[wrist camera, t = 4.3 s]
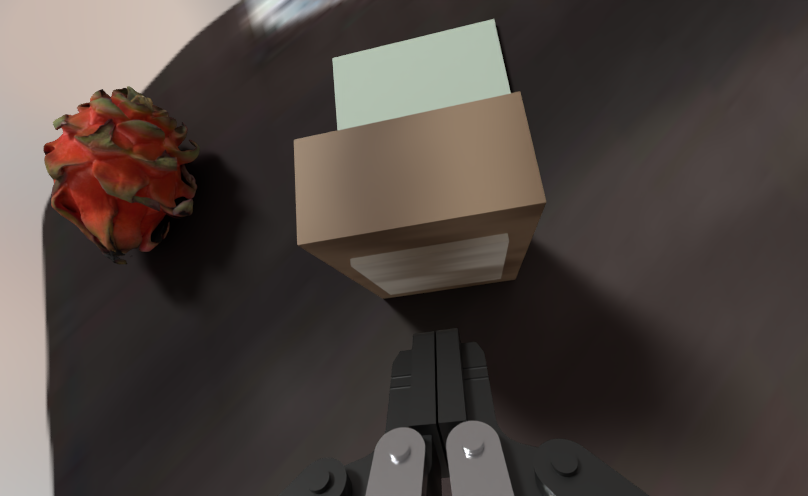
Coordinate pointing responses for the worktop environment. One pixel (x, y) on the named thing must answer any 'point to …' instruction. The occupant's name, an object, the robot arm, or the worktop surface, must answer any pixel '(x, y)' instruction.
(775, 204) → the worktop surface
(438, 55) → the mat
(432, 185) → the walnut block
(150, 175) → the dragon fruit
